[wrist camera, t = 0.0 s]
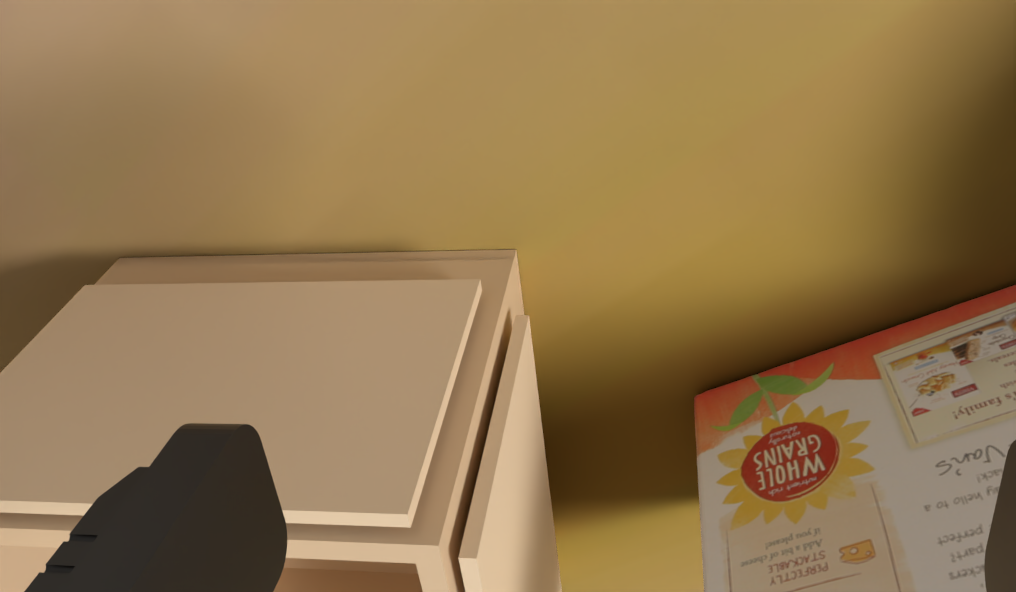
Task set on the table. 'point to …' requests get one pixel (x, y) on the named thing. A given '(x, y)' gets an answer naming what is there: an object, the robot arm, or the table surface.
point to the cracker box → (863, 460)
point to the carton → (300, 411)
